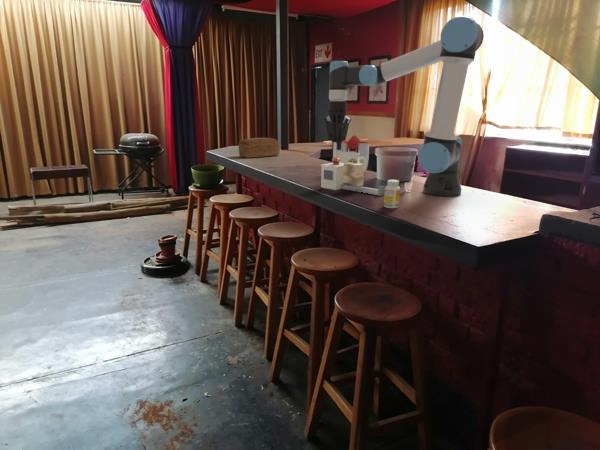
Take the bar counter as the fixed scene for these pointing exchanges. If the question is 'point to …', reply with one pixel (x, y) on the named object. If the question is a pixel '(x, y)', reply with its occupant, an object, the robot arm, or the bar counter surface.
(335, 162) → the gauge button
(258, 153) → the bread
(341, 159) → the pitcher
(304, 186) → the bar counter surface
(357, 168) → the carriage
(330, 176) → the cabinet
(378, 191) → the rail
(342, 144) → the citrus juicer
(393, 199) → the supplement bottle
